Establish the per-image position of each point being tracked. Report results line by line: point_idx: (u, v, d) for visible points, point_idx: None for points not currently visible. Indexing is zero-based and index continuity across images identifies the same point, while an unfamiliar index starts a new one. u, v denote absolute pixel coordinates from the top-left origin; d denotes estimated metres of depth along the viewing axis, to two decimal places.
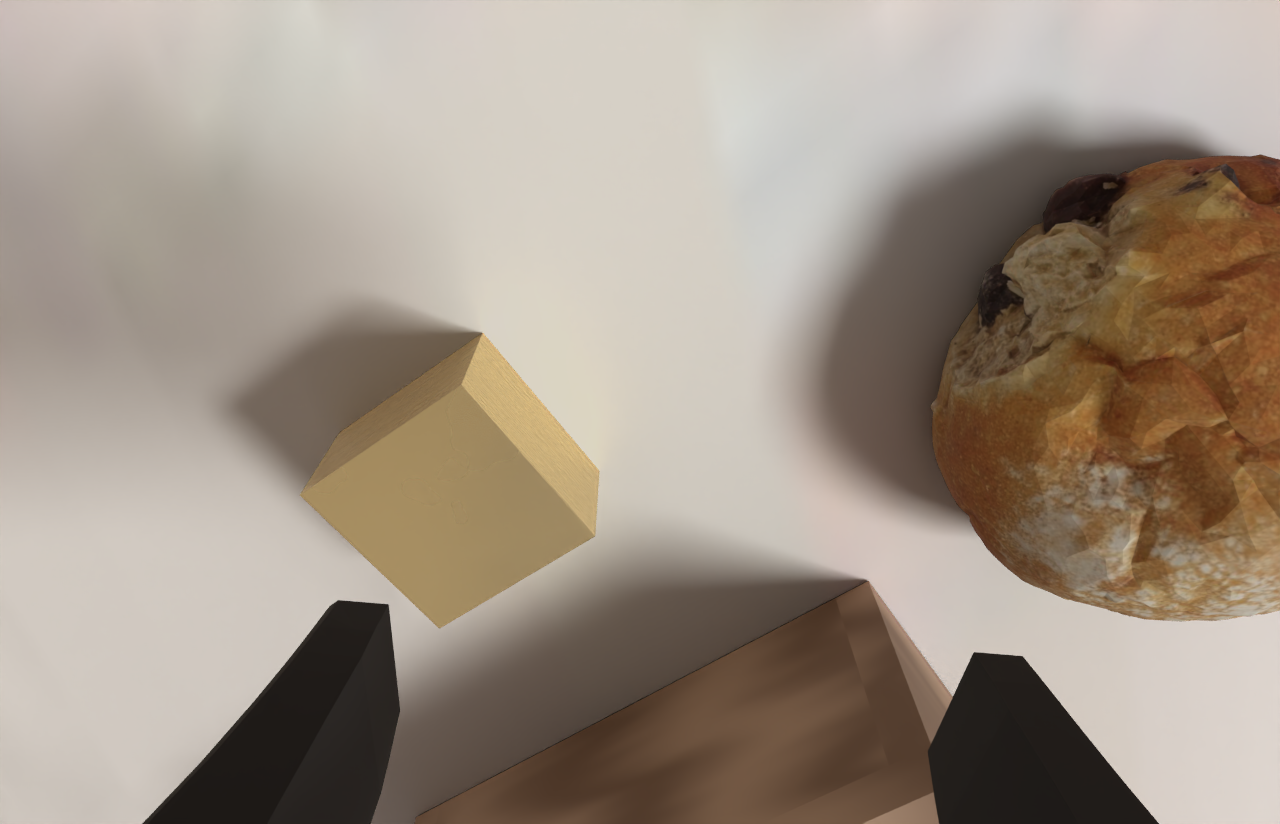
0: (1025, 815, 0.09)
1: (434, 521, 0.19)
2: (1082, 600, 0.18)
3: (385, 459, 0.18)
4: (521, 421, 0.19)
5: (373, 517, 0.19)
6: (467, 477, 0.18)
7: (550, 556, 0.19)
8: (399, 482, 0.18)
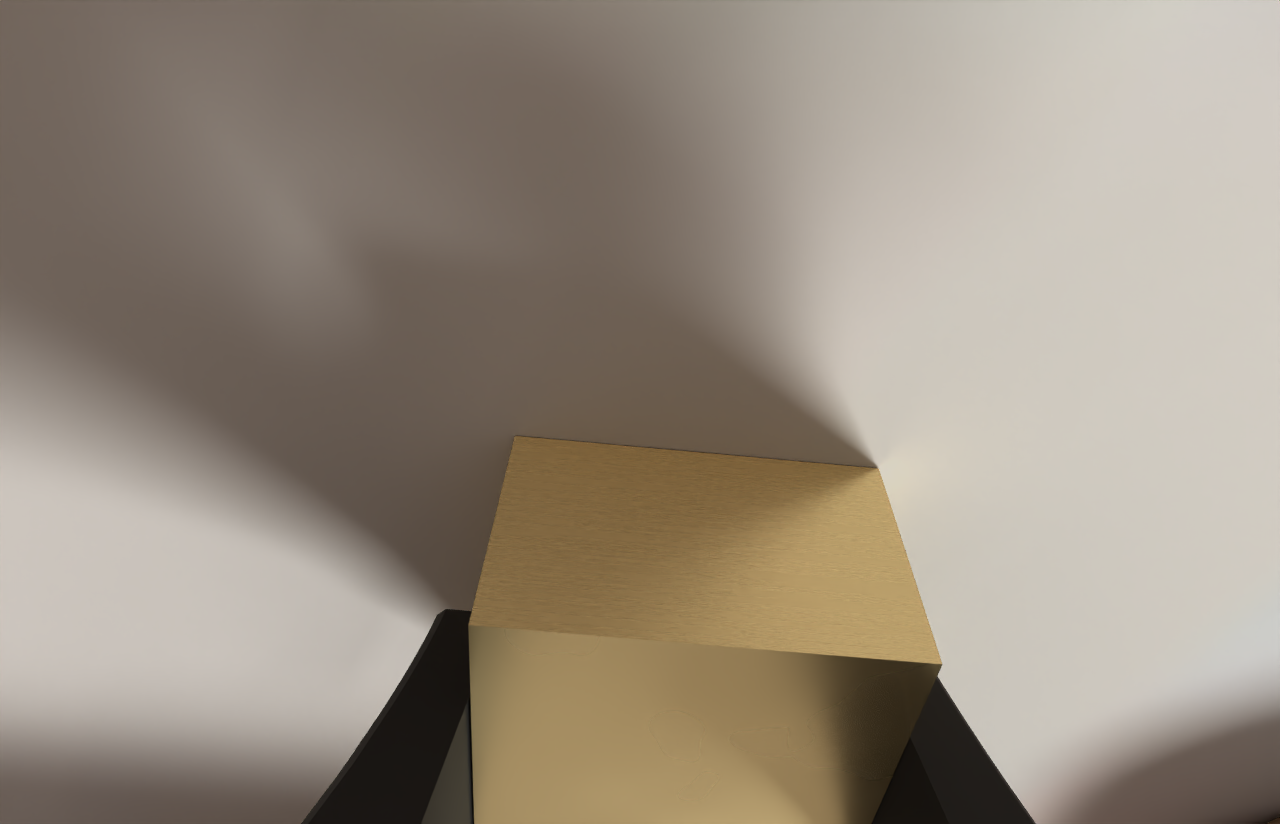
0: (905, 805, 0.09)
1: (645, 776, 0.09)
2: None
3: (686, 672, 0.08)
4: None
5: (557, 721, 0.09)
6: (774, 761, 0.09)
7: None
8: (663, 708, 0.09)
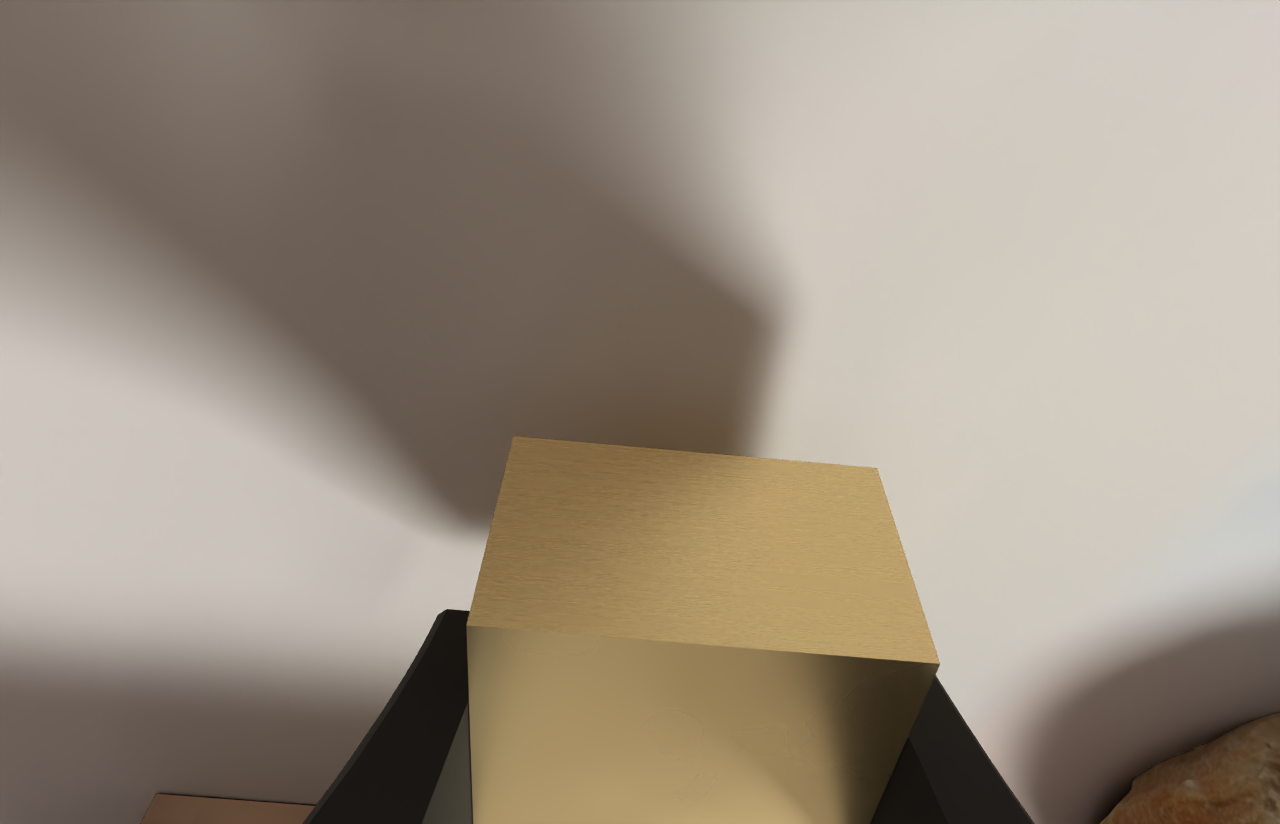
0: (903, 805, 0.09)
1: (643, 775, 0.09)
2: None
3: (683, 671, 0.08)
4: None
5: (556, 721, 0.09)
6: (772, 761, 0.09)
7: None
8: (662, 707, 0.09)
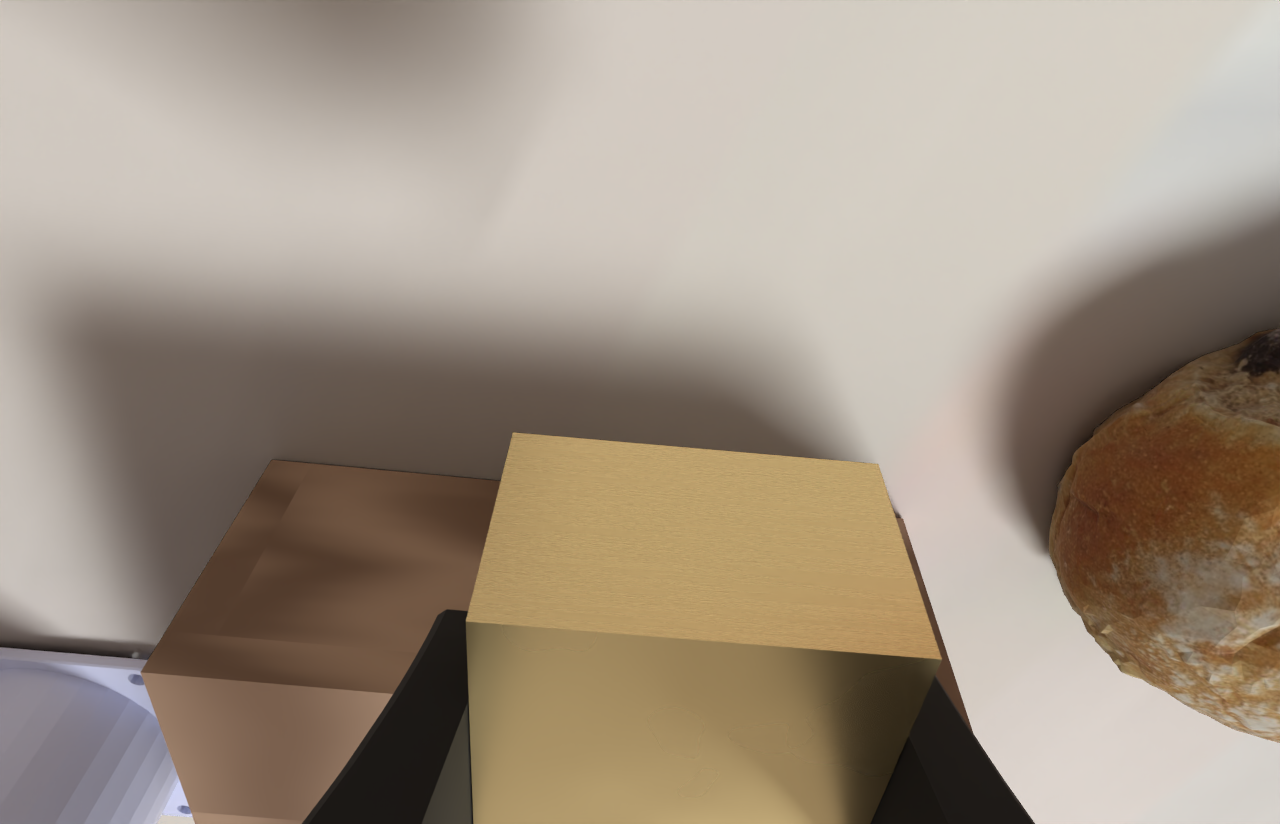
0: (903, 805, 0.09)
1: (644, 772, 0.09)
2: (1146, 643, 0.18)
3: (684, 667, 0.08)
4: None
5: (556, 717, 0.09)
6: (772, 756, 0.09)
7: None
8: (662, 704, 0.09)
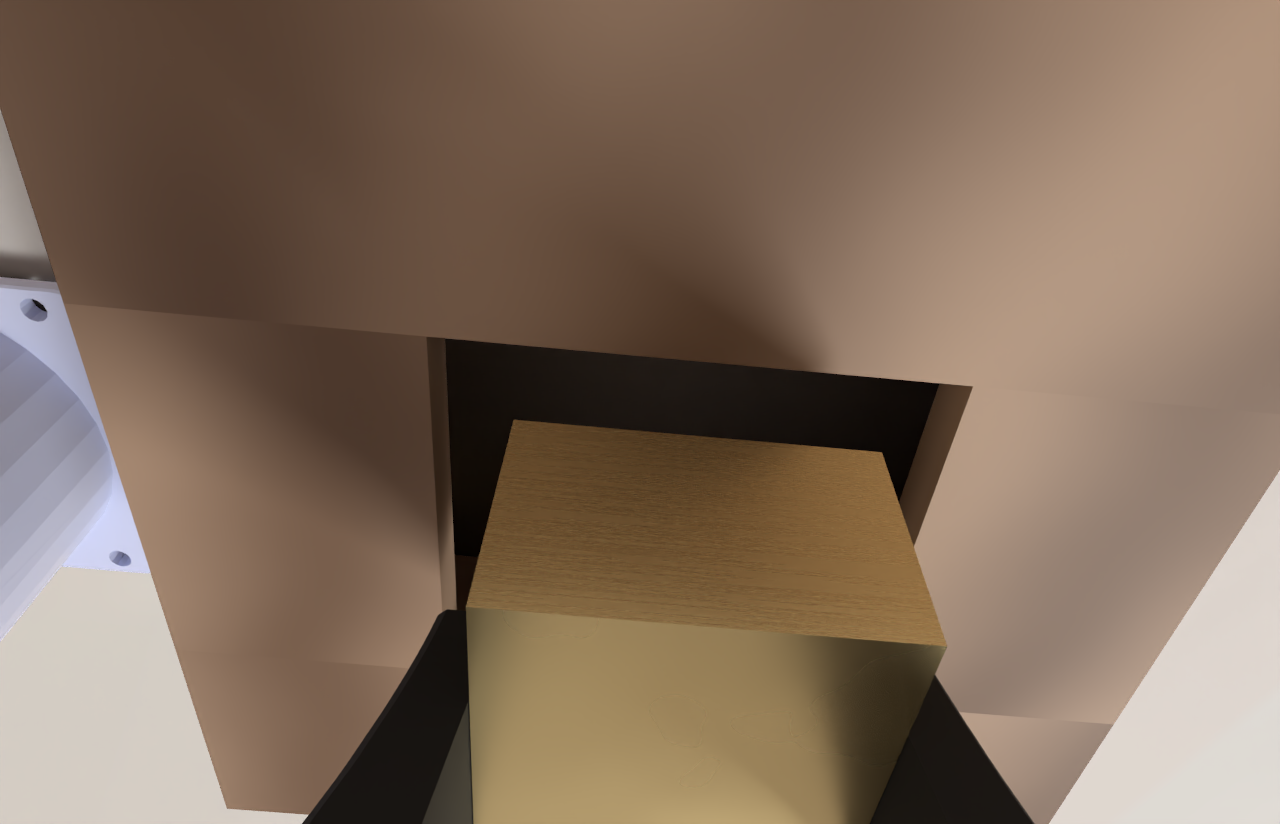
0: (904, 805, 0.09)
1: (645, 762, 0.09)
2: None
3: (687, 655, 0.08)
4: None
5: (556, 705, 0.09)
6: (775, 745, 0.09)
7: None
8: (664, 692, 0.09)
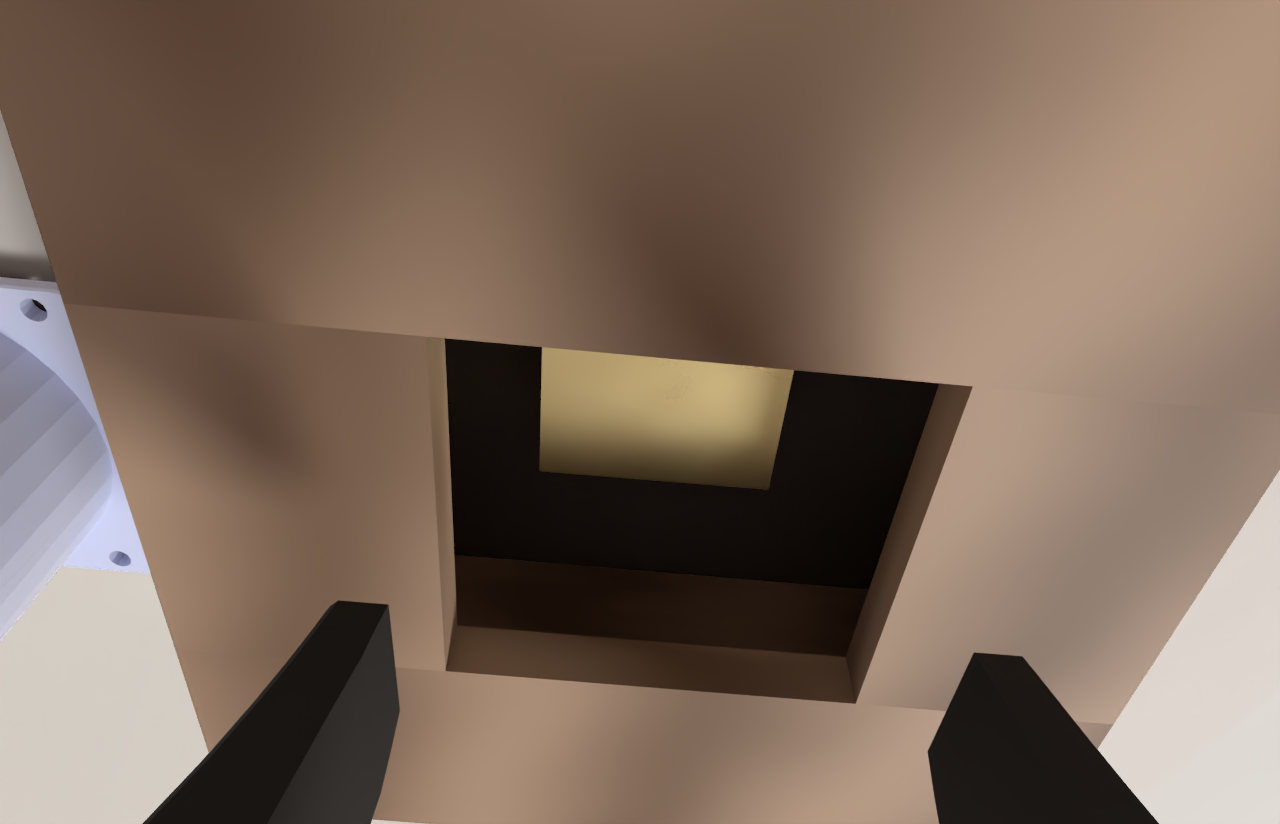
0: (1026, 814, 0.09)
1: (644, 378, 0.16)
2: None
3: None
4: None
5: None
6: (721, 363, 0.15)
7: (712, 480, 0.17)
8: None
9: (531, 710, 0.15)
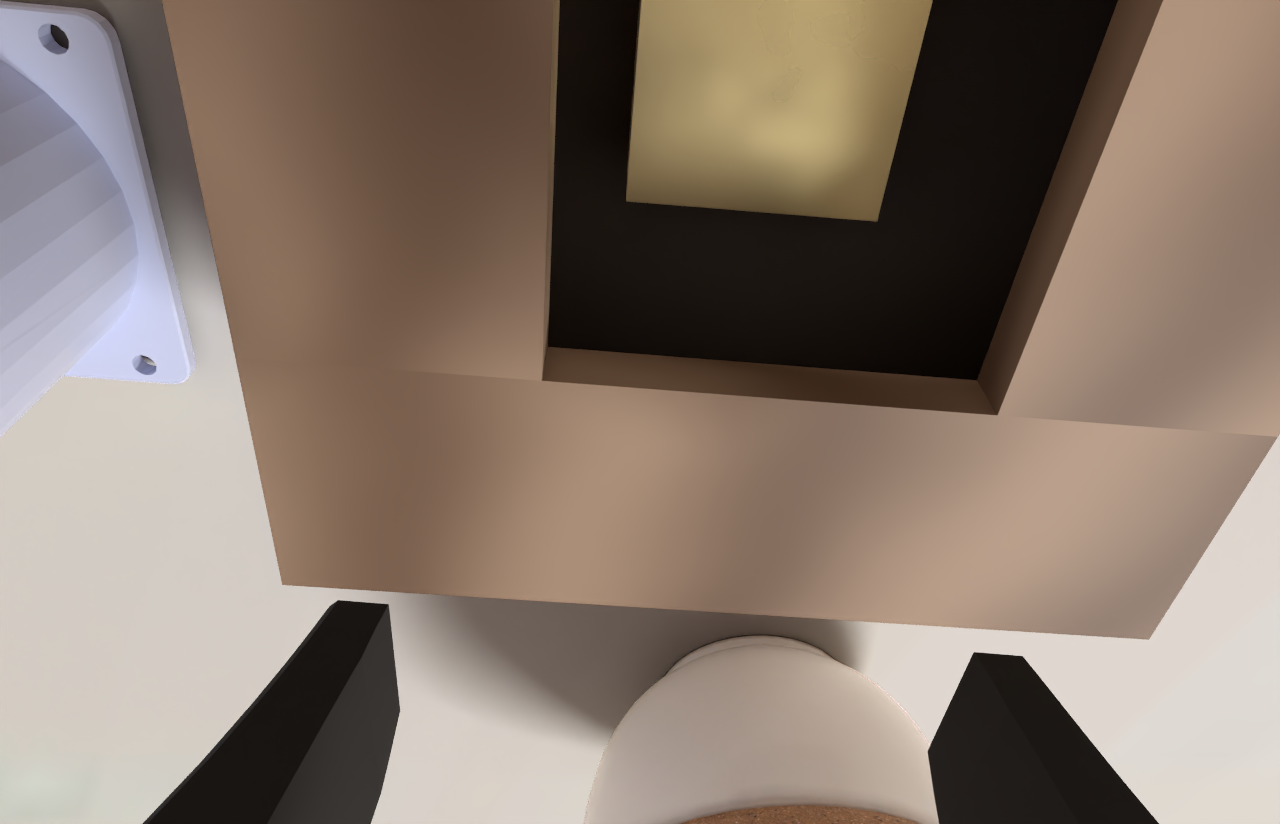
0: (1026, 815, 0.09)
1: (751, 73, 0.14)
2: None
3: None
4: None
5: (697, 11, 0.13)
6: (838, 51, 0.14)
7: (816, 210, 0.15)
8: None
9: (634, 435, 0.14)
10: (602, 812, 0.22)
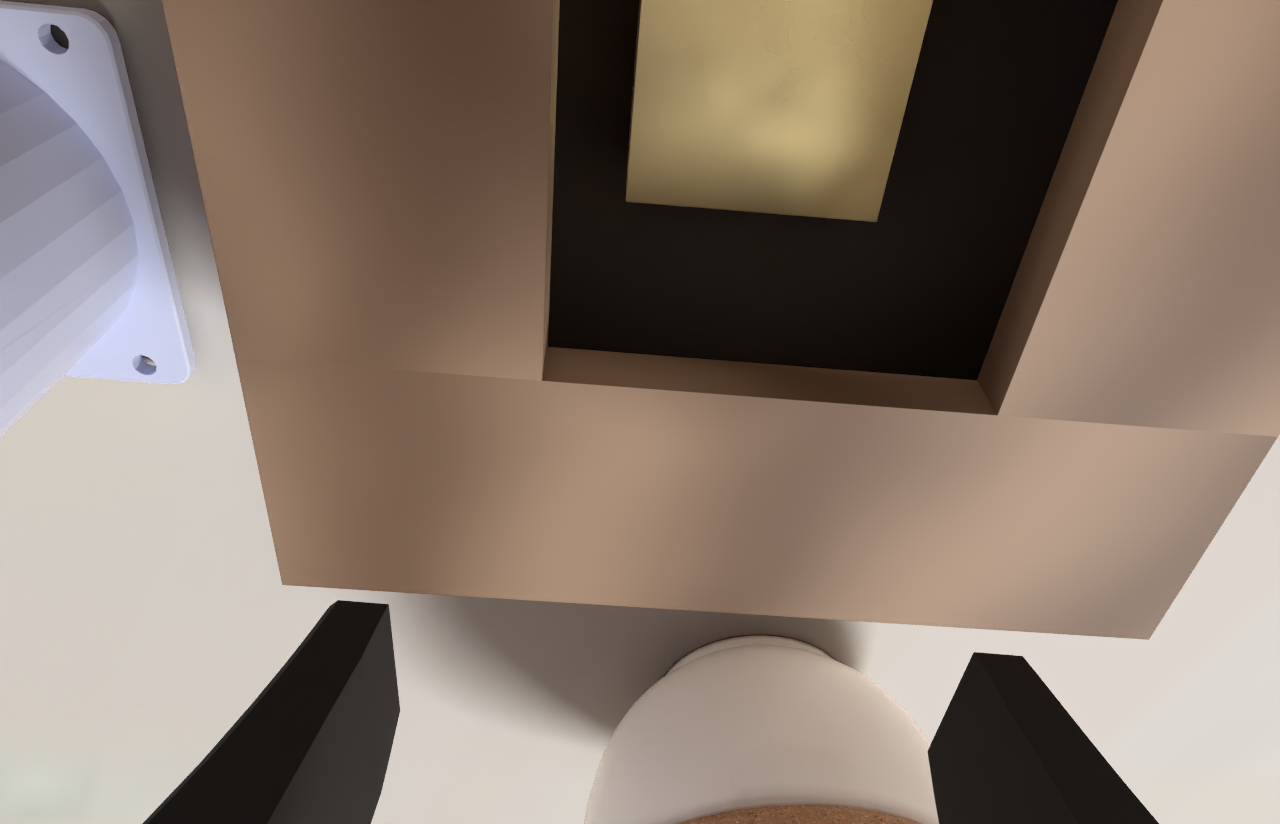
0: (1026, 815, 0.09)
1: (751, 74, 0.14)
2: None
3: None
4: None
5: (697, 12, 0.13)
6: (838, 52, 0.14)
7: (816, 210, 0.15)
8: None
9: (634, 435, 0.14)
10: (602, 812, 0.22)
